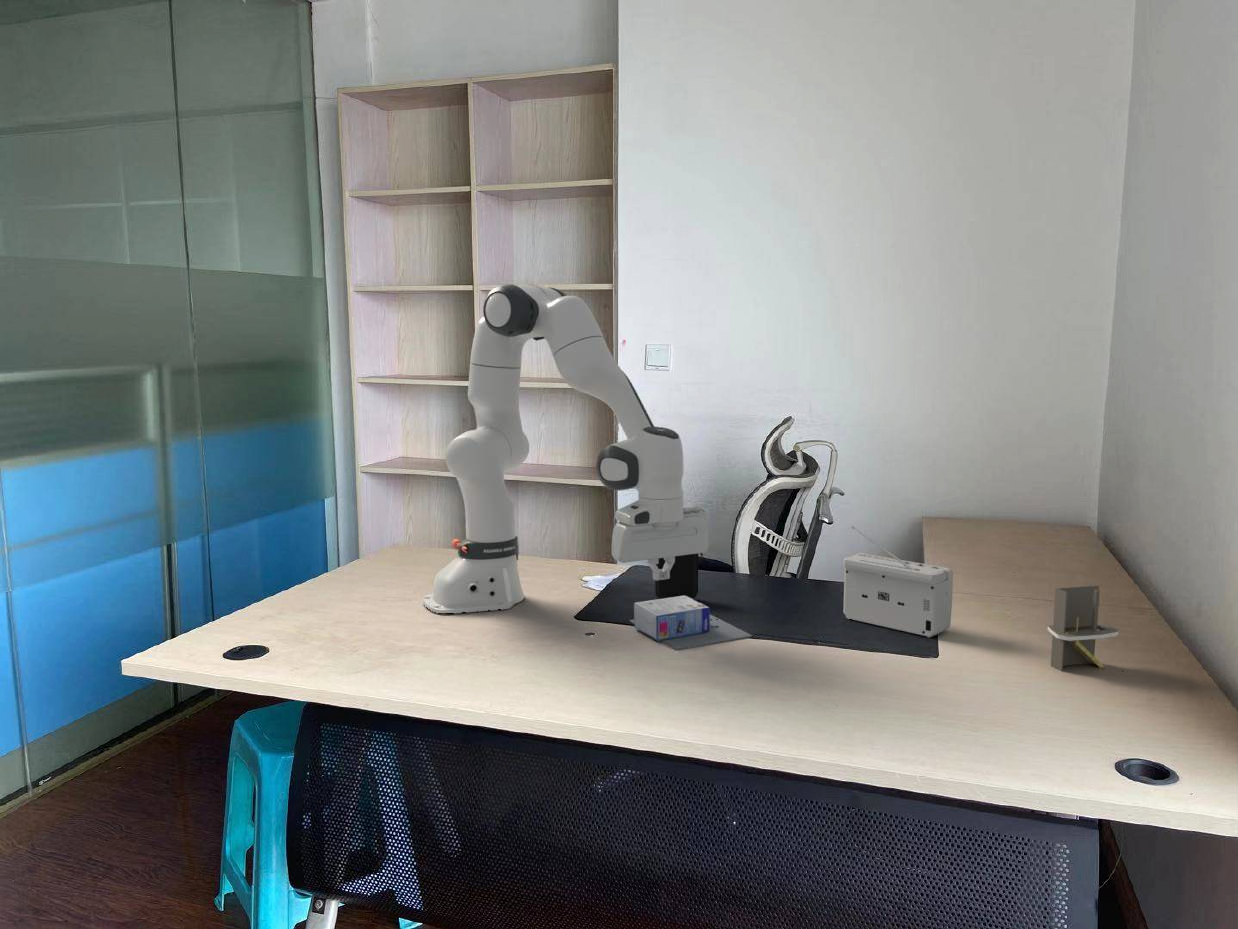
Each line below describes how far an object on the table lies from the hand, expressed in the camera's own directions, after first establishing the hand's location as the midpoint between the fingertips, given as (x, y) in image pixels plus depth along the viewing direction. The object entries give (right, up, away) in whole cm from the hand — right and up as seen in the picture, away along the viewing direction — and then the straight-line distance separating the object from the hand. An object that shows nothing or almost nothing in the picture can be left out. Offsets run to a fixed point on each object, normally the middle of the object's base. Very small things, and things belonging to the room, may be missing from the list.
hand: (661, 579), depth 185 cm
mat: (+6, -11, +5) cm, 13 cm away
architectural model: (+74, -14, -18) cm, 77 cm away
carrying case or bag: (+5, -8, +25) cm, 27 cm away
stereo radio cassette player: (+48, -10, +6) cm, 49 cm away
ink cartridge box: (-3, -9, 0) cm, 9 cm away
